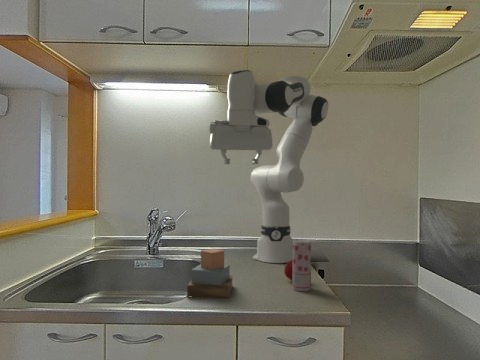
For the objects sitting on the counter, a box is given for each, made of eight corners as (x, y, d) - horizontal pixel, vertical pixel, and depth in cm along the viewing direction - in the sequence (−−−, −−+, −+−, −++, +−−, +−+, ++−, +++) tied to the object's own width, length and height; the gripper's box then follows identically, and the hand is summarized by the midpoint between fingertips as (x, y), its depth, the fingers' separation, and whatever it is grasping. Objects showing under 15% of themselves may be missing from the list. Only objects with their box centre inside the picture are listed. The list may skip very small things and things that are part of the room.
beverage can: (288, 287, 124) (289, 239, 123) (304, 285, 126) (304, 238, 126) (298, 292, 118) (299, 243, 118) (314, 290, 121) (315, 241, 120)
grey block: (202, 275, 125) (202, 262, 125) (229, 277, 122) (229, 264, 122) (191, 283, 116) (191, 269, 116) (220, 285, 114) (220, 271, 114)
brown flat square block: (194, 287, 126) (194, 274, 126) (232, 288, 125) (232, 275, 125) (187, 299, 114) (187, 285, 114) (228, 300, 113) (228, 286, 113)
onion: (288, 284, 127) (288, 259, 127) (281, 279, 132) (281, 256, 132) (304, 283, 128) (305, 258, 128) (297, 278, 134) (297, 255, 134)
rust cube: (213, 264, 123) (213, 248, 122) (224, 267, 119) (224, 250, 119) (200, 267, 119) (200, 250, 119) (211, 269, 115) (211, 252, 115)
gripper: (211, 118, 120) (211, 164, 121) (274, 120, 126) (274, 164, 126) (207, 121, 126) (207, 164, 127) (267, 123, 132) (267, 164, 132)
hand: (241, 164), depth 126 cm, fingers open, 8 cm apart
